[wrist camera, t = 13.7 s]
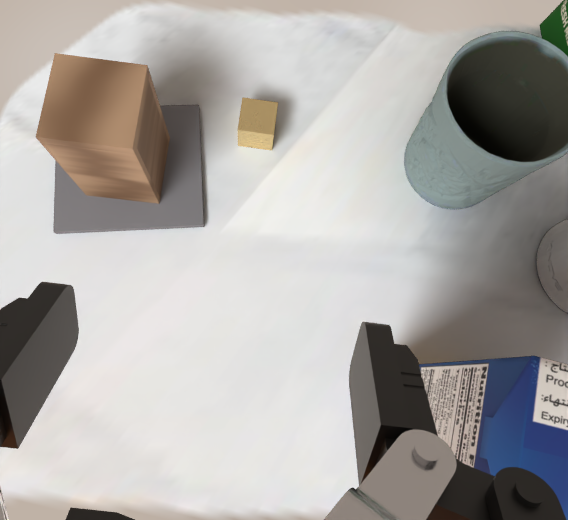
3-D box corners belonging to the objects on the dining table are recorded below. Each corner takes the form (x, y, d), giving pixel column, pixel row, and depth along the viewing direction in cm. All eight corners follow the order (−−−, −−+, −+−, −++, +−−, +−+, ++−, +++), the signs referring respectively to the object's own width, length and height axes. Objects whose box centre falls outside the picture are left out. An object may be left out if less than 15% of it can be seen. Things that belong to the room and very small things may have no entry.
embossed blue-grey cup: (515, 141, 47) (605, 62, 35) (484, 238, 44) (571, 188, 33) (413, 100, 47) (469, 8, 35) (377, 194, 44) (425, 129, 33)
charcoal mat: (199, 108, 45) (198, 104, 44) (204, 226, 42) (203, 224, 42) (59, 112, 44) (57, 108, 43) (56, 233, 41) (53, 231, 41)
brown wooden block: (169, 137, 43) (147, 65, 33) (159, 203, 42) (132, 148, 32) (99, 129, 43) (54, 53, 33) (86, 195, 42) (35, 137, 32)
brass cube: (275, 120, 45) (278, 102, 42) (271, 150, 45) (273, 134, 42) (242, 115, 45) (242, 97, 42) (238, 146, 44) (237, 129, 42)
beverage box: (381, 366, 41) (531, 355, 20) (511, 400, 41) (800, 424, 20) (364, 453, 39) (508, 544, 18) (500, 488, 40) (801, 618, 18)
